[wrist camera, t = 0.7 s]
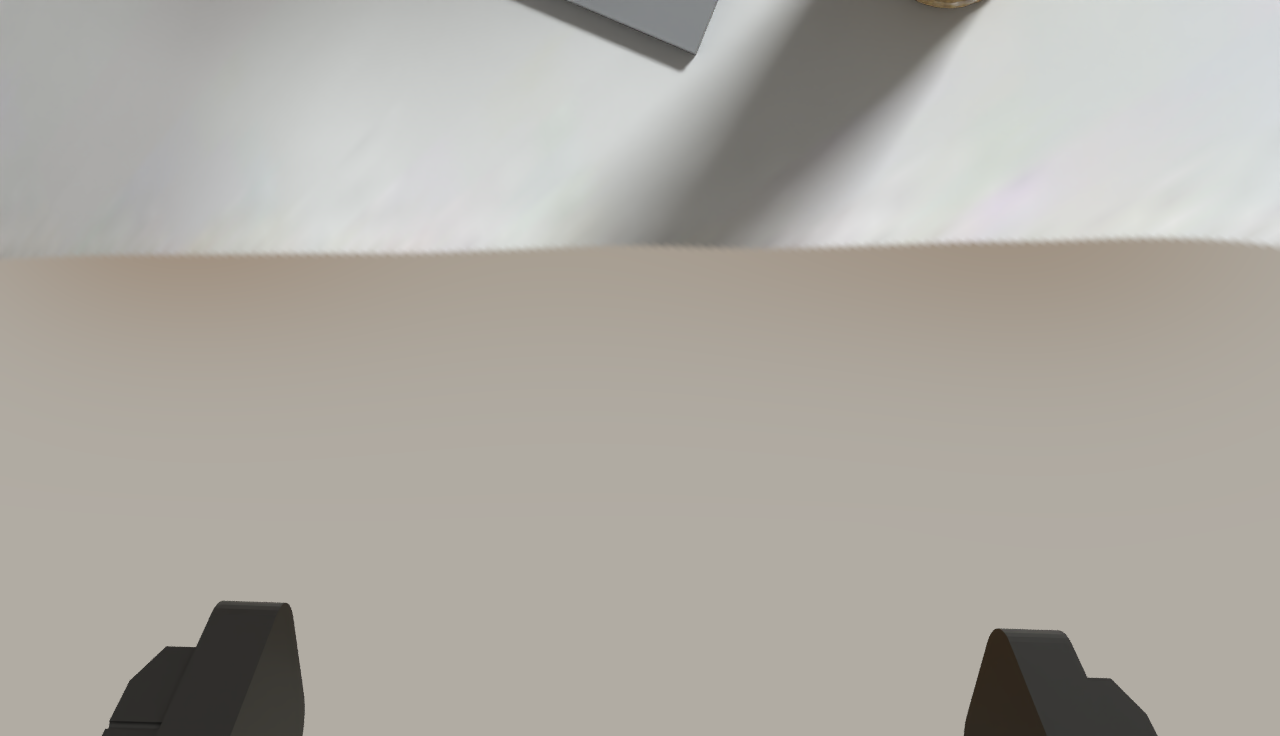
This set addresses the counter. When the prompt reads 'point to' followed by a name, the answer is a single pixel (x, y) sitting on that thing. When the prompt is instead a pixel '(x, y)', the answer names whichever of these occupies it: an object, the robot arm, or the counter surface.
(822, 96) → the counter surface
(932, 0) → the spice jar
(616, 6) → the letter mat
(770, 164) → the counter surface
